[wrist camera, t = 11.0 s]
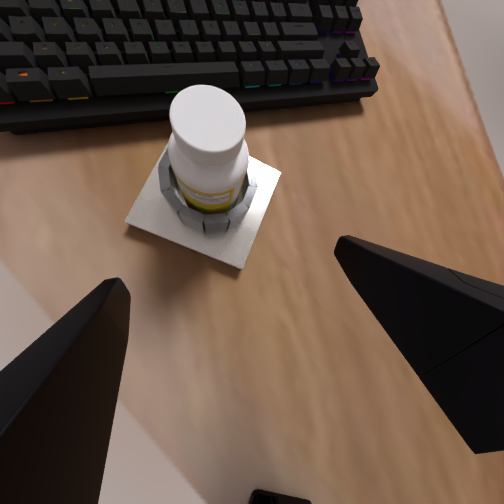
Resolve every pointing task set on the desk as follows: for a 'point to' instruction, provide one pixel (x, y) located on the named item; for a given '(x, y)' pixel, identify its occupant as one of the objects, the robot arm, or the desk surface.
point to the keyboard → (173, 58)
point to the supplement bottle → (208, 148)
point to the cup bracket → (197, 224)
